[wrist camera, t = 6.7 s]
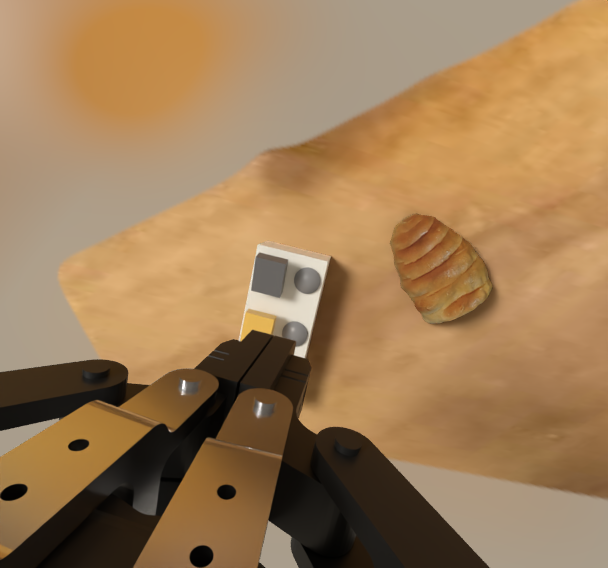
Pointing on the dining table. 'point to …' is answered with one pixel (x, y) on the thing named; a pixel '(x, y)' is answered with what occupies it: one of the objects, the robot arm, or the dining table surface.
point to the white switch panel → (293, 294)
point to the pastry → (438, 269)
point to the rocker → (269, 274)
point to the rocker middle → (257, 322)
